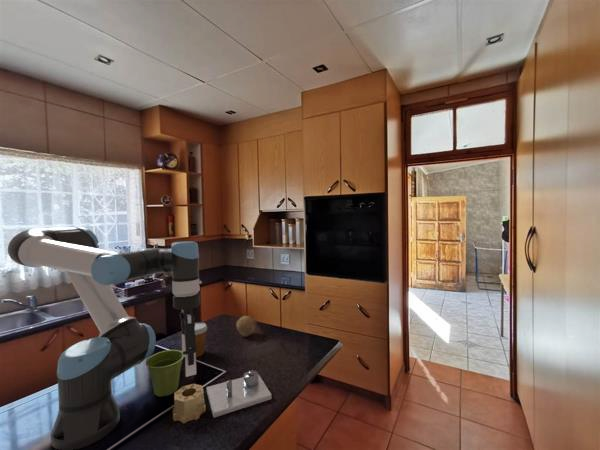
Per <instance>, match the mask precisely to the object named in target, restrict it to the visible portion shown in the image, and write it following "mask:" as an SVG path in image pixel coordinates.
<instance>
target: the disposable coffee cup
mask: <svg viewBox="0 0 600 450" xmlns="http://www.w3.org/2000/svg"><path fill="white" fill-rule="evenodd" d="M207 330H208V326H207V324H206V323H205V322H195V341H196V349H197V351H196V358H198V357H202V355H204V353H205V345H206V337H207V336H206V335H207Z"/></svg>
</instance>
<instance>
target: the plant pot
mask: <svg viewBox="0 0 600 450" xmlns="http://www.w3.org/2000/svg"><path fill="white" fill-rule="evenodd" d="M184 358H185V355H184V356H182V350H178V349H169V350H163V351H159V352H157V353H155V354H151V355H150V356H149V357H148V358H147V359H146V361H145V365H146V366H147V369H148V371H149V374H150V378H151V383H152V388H153V392H154V395H155V396H156V397H161V398H162V397H166V396H171V395H172V394H174V393H175V392H176V391H177V390H178V388H179V384H180V376H181V370H182V364H183V360H184Z"/></svg>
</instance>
